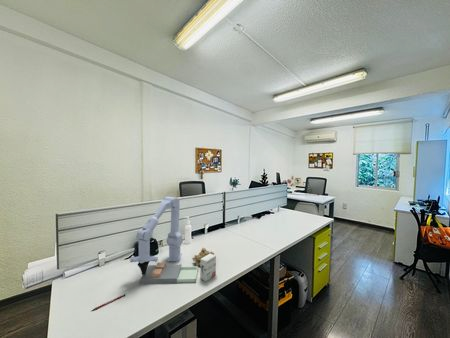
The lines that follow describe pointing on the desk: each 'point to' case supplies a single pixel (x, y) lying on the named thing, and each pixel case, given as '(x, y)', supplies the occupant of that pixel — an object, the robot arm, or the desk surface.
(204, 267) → the ink box
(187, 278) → the tray
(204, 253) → the mineral formation
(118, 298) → the pencil
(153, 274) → the tile
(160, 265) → the tile
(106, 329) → the desk surface
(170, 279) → the board
